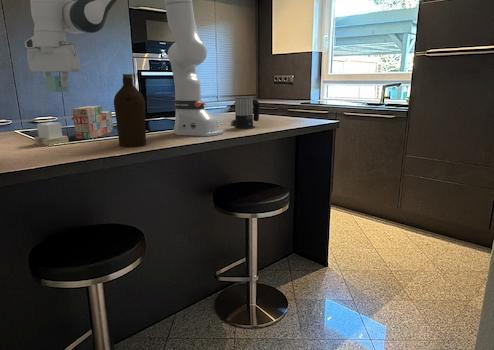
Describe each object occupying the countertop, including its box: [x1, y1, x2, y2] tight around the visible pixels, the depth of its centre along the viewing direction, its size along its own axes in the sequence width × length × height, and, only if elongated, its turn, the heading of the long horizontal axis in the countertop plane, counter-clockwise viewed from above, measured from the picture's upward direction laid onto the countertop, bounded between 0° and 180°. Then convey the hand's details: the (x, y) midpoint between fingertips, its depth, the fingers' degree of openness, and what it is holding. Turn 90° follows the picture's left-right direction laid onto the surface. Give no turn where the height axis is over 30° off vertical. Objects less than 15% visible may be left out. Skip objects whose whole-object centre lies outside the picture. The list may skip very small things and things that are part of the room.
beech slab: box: [33, 135, 69, 147], centre depth 137 cm, size 8×8×3 cm
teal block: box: [44, 75, 69, 93], centre depth 121 cm, size 4×4×5 cm
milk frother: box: [230, 96, 260, 129], centre depth 182 cm, size 14×16×15 cm
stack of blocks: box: [71, 105, 115, 140], centre depth 155 cm, size 21×6×12 cm, turn 175°
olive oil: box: [113, 73, 147, 148], centre depth 131 cm, size 11×11×25 cm
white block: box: [36, 121, 63, 139], centre depth 135 cm, size 6×6×5 cm
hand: (56, 86), depth 121 cm, fingers closed on teal block, 4 cm apart
